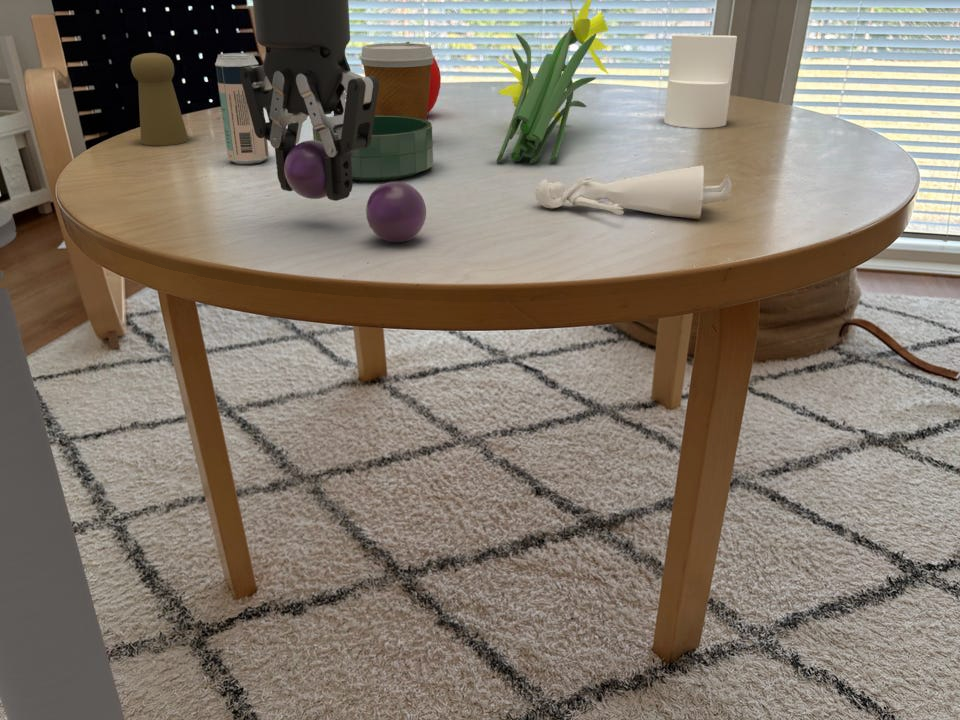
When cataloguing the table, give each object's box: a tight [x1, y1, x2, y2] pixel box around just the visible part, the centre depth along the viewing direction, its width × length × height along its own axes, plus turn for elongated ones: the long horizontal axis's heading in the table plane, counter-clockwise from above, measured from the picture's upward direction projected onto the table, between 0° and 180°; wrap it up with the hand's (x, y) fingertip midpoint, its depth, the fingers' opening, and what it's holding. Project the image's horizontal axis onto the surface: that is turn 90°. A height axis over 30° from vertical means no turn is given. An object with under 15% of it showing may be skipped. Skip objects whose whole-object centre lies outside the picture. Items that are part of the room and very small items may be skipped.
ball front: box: [365, 180, 427, 243], centre depth 68 cm, size 5×5×5 cm
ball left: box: [284, 139, 328, 200], centre depth 71 cm, size 5×5×5 cm
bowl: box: [312, 115, 434, 182], centre depth 92 cm, size 13×13×5 cm
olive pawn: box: [130, 52, 190, 147], centre depth 106 cm, size 6×6×11 cm
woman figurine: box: [534, 165, 732, 220], centre depth 76 cm, size 12×4×18 cm
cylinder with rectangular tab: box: [663, 33, 738, 129], centre depth 118 cm, size 9×9×12 cm
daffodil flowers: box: [496, 0, 610, 165], centre depth 107 cm, size 17×15×35 cm
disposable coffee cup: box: [359, 42, 436, 121], centre depth 105 cm, size 10×10×12 cm
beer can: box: [214, 52, 270, 165], centre depth 95 cm, size 5×5×12 cm
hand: (315, 192), depth 72 cm, fingers closed on ball left, 5 cm apart
